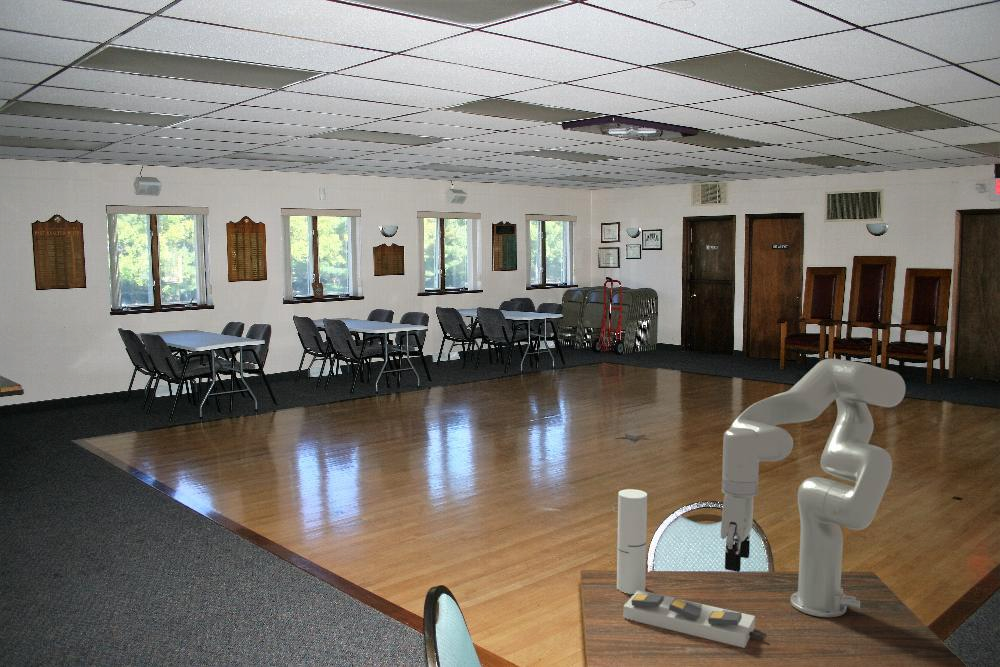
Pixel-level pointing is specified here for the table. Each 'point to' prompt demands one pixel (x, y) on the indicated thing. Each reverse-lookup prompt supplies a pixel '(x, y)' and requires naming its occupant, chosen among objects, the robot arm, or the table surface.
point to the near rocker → (725, 618)
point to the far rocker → (647, 600)
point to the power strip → (692, 621)
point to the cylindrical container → (631, 540)
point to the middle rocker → (685, 609)
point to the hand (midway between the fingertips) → (737, 562)
